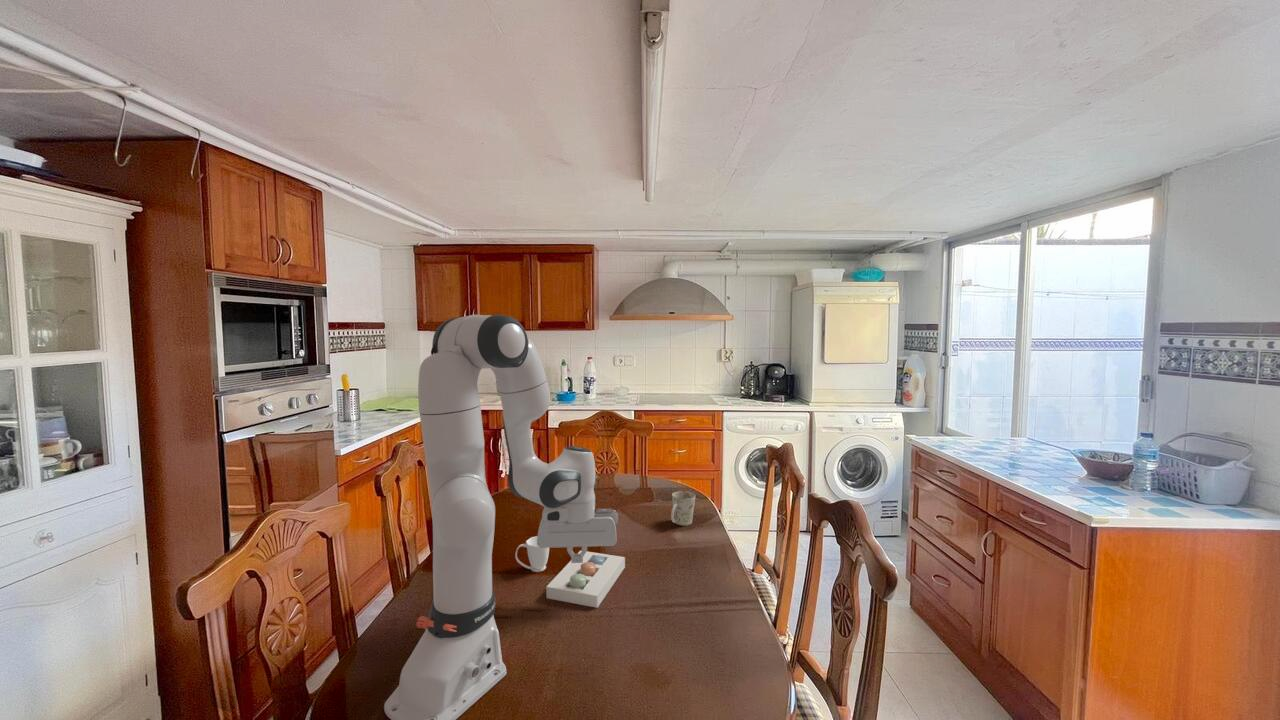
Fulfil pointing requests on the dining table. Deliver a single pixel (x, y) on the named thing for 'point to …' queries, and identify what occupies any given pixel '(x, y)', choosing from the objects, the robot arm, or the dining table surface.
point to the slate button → (597, 560)
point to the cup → (534, 555)
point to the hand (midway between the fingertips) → (577, 562)
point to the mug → (682, 507)
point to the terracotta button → (588, 569)
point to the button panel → (594, 585)
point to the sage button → (578, 581)
